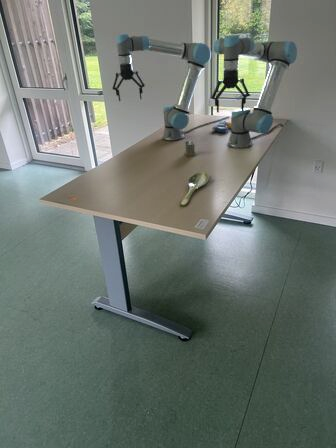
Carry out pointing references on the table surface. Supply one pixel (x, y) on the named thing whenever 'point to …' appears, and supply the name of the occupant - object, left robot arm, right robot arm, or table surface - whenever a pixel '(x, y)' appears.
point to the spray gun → (222, 126)
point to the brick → (190, 148)
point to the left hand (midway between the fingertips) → (130, 99)
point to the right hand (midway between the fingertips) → (230, 111)
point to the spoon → (195, 184)
